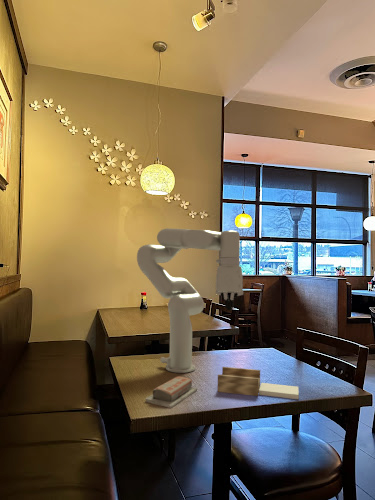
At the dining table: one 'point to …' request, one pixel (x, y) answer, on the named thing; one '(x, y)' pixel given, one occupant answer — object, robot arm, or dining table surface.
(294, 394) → the cover plate
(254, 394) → the box
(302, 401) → the dining table surface
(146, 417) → the dining table surface
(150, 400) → the packaged product
